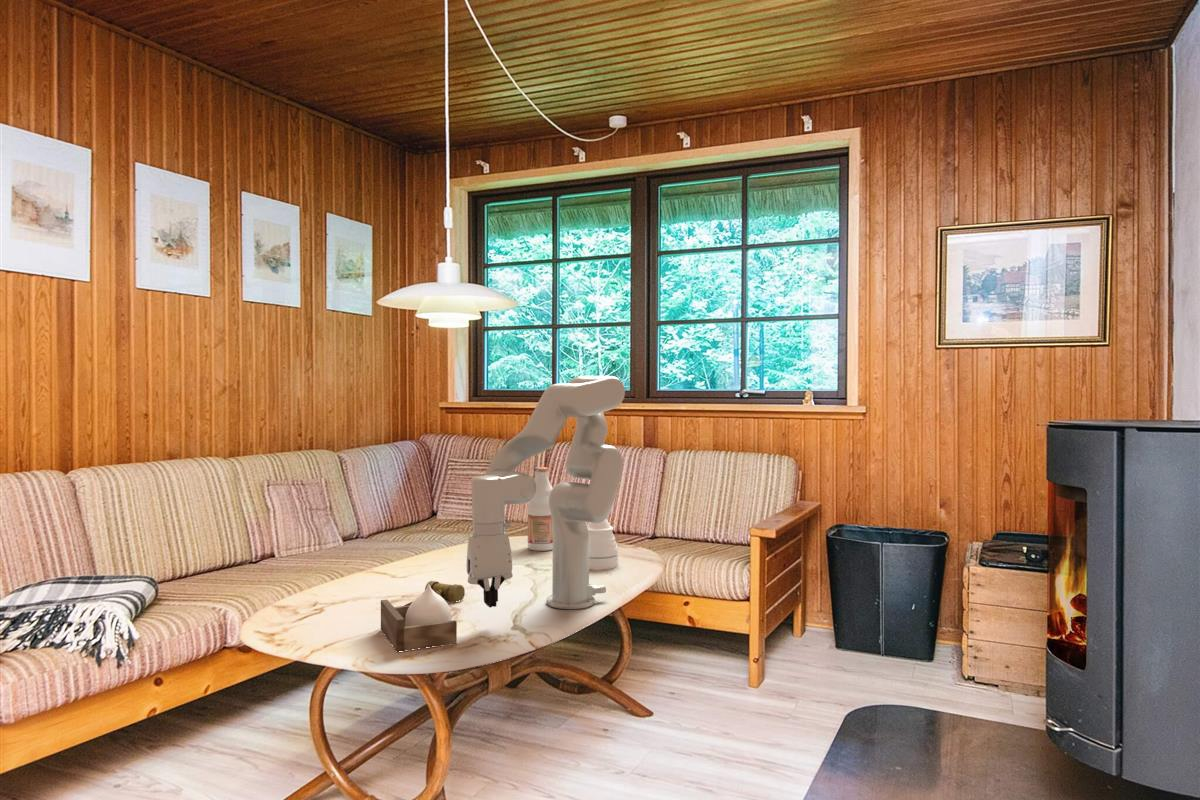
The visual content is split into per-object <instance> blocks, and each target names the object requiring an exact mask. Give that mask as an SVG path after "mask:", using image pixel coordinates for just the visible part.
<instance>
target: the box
mask: <svg viewBox="0 0 1200 800" xmlns="http://www.w3.org/2000/svg"><path fill="white" fill-rule="evenodd" d="M409 606H410V605H407V606H404V605H400V606H394V605H393V604H392V603H391V602H390V601H389V600H388V599H381V600H380V631H381V630H382V631H383V633H384V634H385V635H384V634H383V633H382V634H383V635H384V637H385V636H386V637H387V638H386V637H385V638H386V640H387V639H388V640H389V641H390V642H389V641H388V640H387V641H388V642H389V644H390V643H391V644H392V645H393V647H394V648H395V649H394V648H393V647H392V648H393V649H394V651H395V650H396V651H397V652H399V651H405V650H412V649H418V648H426V647H432V646H440V647H442V646H441V645H447V646H450V645H449V644H454V645H458V644H457V641H458V640H457V637H458V636H457V634H458V633H457V629H458V626H457V625H458V623H457V622H458V621H457V620H456V619H455V620H452V621H446V622H439V623H431V624H424V625H416V626H409V627H405V617H406V613H407V610H408V608H409ZM382 631H381V632H382ZM391 644H390V645H391ZM392 645H391V646H392ZM396 651H395V652H396ZM397 652H396V653H397ZM399 653H400V652H399Z"/></svg>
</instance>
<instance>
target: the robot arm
mask: <svg viewBox="0 0 1200 800" xmlns="http://www.w3.org/2000/svg"><path fill="white" fill-rule="evenodd" d="M625 394H626V388H625V385H624V383H623V382H622V380H621V379H619V378H618V377H616V376H613V375H581V376H580V375H579V376H576V377H574V378H572V379H571V380H570V381H569V382H567V383H554V384H551V385H549V386H547V387H546V389H544V392H543V393H542V395H541V396H540V398H539V400H538V402H537V404H536V406H535V408H534V409H533V412H532V414H531V415H530V417H529V418H528V420H527V423H526V424H525V426H524V428H523V429H522V430H521V431H520V432H519V433H517V434H516V435H515V436H513V437H512V438H511V439H510V440H509V441H507V443H505V444H504V445H502V447H501V448H500V449H499V450H498V451H497V452H496V454H495V455H494V456H493V458H492V460H491V462H490V464H489V465H488V467H487V469H486V471H485V472H484V475H478V476H476V477H474V478H473V479H472V480H471V510H472V511H471V513H472V514H471V515H472V516H471V517H472V534H468V535H469V536H468V542H467V548H466V549H467V550H466V573H467V575H468V578H467V583H468V584H470V585H476V586H477V585H478V586H479V587H481V589H483V602H484V604H485V605H486V606H487V607H488V608H493V607H494V608H495V607H496V608H497V603H498V602H499V593H498V592H499V589H500V587H501V586H502V584H503V583H504V582H505V581H507V580H509V579H511V578H512V579H513V558H512V557H513V555H512V548H511V547H512V546H511V543H510V538H509V534H508V532H507V528H511V524H512V523H511V521H509V520H508V521H507V520H506V519H505V517H506V516H505V505H522V504H526V503H528V502H530V500H531V499H532V498H533V496H534V495H535V493H536V483H535V481H534V479H535V478H534V477H532V476H531V475H529V474H527V473H525V472H521V471H516V469H517V468H518V467H519V466H520V465H521V464H522V463H524V462H525V461H526V460H528V459H531V458H532V457H534V456H537V455H539V454H541V453H543V452H546V451H548V450H551V448H553V447H554V446H555V443H556V442H557V439H559V436H560V434H561V431H562V430H563V428H564V426H565V425H566V423H567V421H568V420H569V418H576V426H575V430H574V433H573V437H572V441H571V442H570V446H569V450H568V453H567V458H566V462H565V470H566V472H567V473H568V474H569V475H570V476H571V477H573V478H577V479H580V480H587V481H590V482H589V483H584V482H575V481H563V482H559V483H557V484H556V485H555V486H554V487H553V489H552V491H551V493H550V496H549V507H550V512H551V518H552V526H553V549H552V594H550V595H548V596H547V597H546V601H545V602H546V605H548V606H550V607H552V608H555V609H560V610H561V609H562V610H579V609H585V608H590V607H591V606H593V605H595V603H596V602H595V600H596V599H595V597H594V596H595V595H596V594H605V593H606V592H607V588H606V586H605V585H598V586H597V584H594V585H592V584H590V569H589V532H588V528H587V523H588V522H591V523H600V522H602V521H604V520H605V519H607V518H609V515H610V514H611V513H612V509H613V506H614V503H615V500H616V496H617V492H618V490H619V486H620V482H621V478H622V474H623V472H624V471H623V469H624V461H623V456H622V454H621V452H620V451H619V449H618V448H616V447H615V446H614V445H610V444H606V439H607V435H608V430H609V429H608V426H609V425H608V421H607V419H606V416H605V413H606V412H608V411H611V410H614V409H617V407H619V406H620V405H621V404H622V402H623V401H624V398H625V396H626V395H625ZM489 579H491V580H489ZM490 581H491V582H490Z"/></svg>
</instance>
